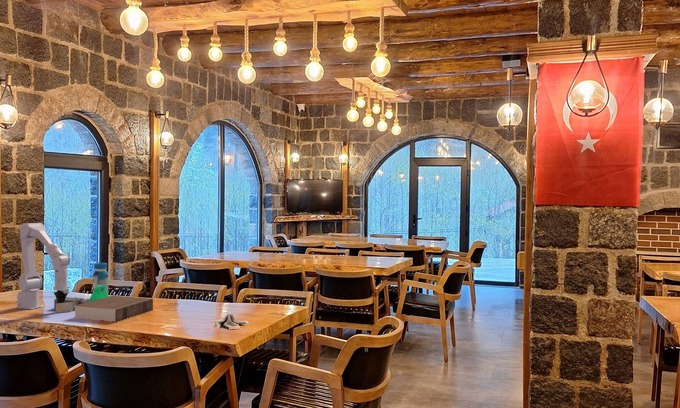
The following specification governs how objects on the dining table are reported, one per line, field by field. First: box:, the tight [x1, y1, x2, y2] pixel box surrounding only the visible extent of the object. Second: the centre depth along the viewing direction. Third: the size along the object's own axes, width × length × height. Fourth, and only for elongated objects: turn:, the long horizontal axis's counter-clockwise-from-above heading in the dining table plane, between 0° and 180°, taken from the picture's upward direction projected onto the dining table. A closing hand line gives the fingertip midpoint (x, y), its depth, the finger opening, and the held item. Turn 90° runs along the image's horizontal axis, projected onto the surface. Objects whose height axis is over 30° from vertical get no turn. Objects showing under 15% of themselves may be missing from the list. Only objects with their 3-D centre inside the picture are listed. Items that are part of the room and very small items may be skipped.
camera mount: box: [87, 285, 110, 302], centre depth 298 cm, size 12×8×10 cm, turn 147°
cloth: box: [214, 312, 249, 329], centre depth 253 cm, size 22×19×6 cm
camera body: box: [53, 296, 85, 310], centre depth 286 cm, size 13×7×6 cm, turn 77°
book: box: [74, 295, 154, 323], centre depth 274 cm, size 24×28×7 cm
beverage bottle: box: [92, 262, 110, 295], centre depth 315 cm, size 8×8×20 cm
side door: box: [55, 302, 75, 313], centre depth 278 cm, size 8×1×4 cm, turn 127°
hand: (60, 305), depth 279 cm, fingers closed
